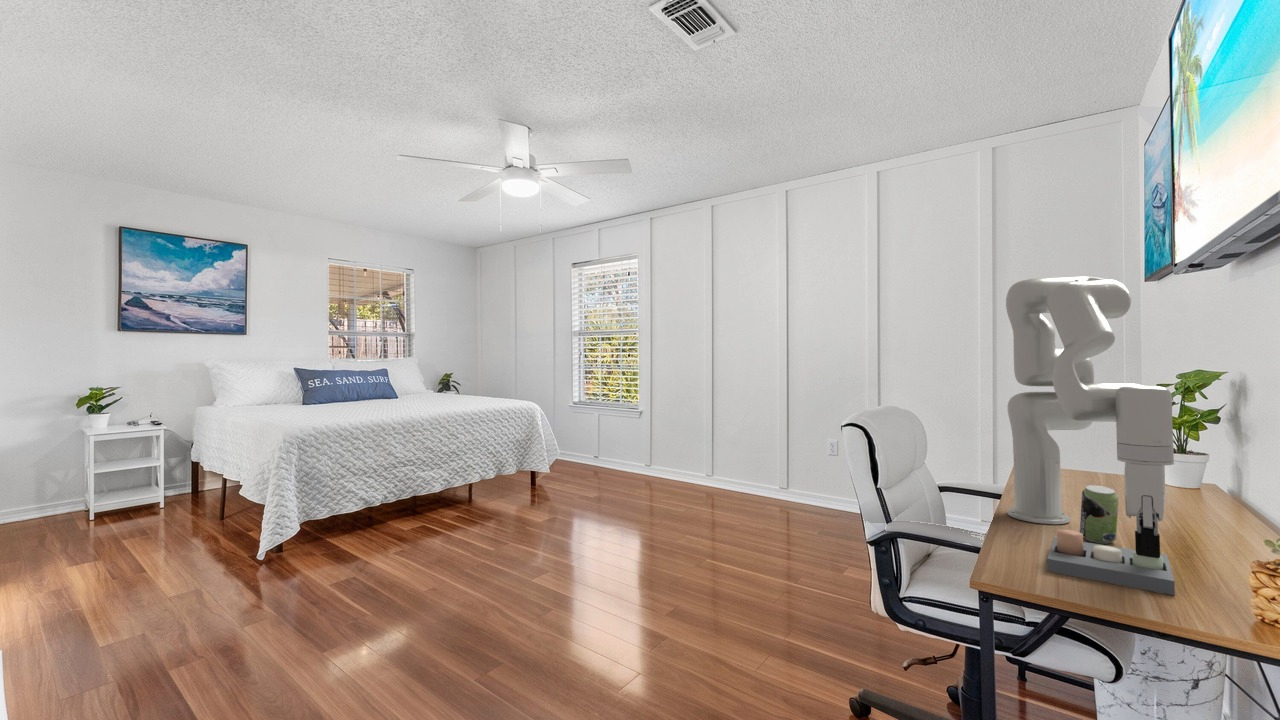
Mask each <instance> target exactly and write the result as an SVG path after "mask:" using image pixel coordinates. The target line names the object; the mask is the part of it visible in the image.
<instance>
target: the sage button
mask: <svg viewBox="0 0 1280 720" xmlns="http://www.w3.org/2000/svg"><path fill="white" fill-rule="evenodd" d="M1132 554H1133V566H1139V567H1145V568H1151V569H1157V570H1163V557H1161V556H1160V558H1153V557H1147V556H1140V555H1137V554H1136V552H1133V553H1132Z"/></svg>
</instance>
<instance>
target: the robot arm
mask: <svg viewBox="0 0 1280 720" xmlns="http://www.w3.org/2000/svg"><path fill="white" fill-rule="evenodd" d="M1006 294H1007V295H1006V298H1005V307H1006V308H1005V309H1006V312H1007V313H1006V314H1007V317H1008V320H1009V322H1010V326H1011V328H1012V335H1013V371H1014V378H1015V380H1016V381H1017V383H1018V384H1020V385H1022V386H1027V387H1053V388H1054V391H1024V392H1020V393H1017V394H1014V395H1013V396H1011V397H1010V398H1009V400H1008V402H1007V416H1008V420H1009V423H1010V428H1011V435H1012V451H1013V452H1012V455H1013V484H1014V485H1013V491H1014V506H1013V507H1008V509H1007V515H1008V516H1009V517H1011V518H1014V519H1016V520H1019V521H1024V522H1030V523H1035V524H1042V525H1044V524H1045V525H1064V524H1068V523H1069V522H1071V520H1070V519H1071V517H1070V515H1069V514H1067V513H1064V512H1062V511H1063V510H1062V481H1061V478H1062V477H1061V476H1062V475H1061V474H1062V473H1061V450H1060V446H1059V445H1058V443H1057V441H1055V439H1054V438H1053V437H1052V436H1051V435H1050V434H1049V431H1080V430H1085V429H1087V428H1089V427H1091V425H1092V423H1093V422H1094V423H1095V422H1096V423H1097V422H1098V423H1099V422H1101V423H1102V422H1105V423H1106V422H1109V423H1110V422H1112V423H1115V428H1116V457H1117V458H1116V460H1117V461H1119V462H1122V463H1124V474H1123V475H1124V476H1123V478H1124V480H1123V481H1124V505H1125V507H1124V508H1125V516H1126V517H1127V518H1129V519H1131V518H1132V517H1135V518H1136V519H1135V520H1136V530H1134V541H1135V544H1134V545H1135V550H1136V554H1137V555H1140V556H1147V557H1153V558H1160V554H1161V542H1160V541H1161V540H1160V539H1161V538H1160V533H1159V524H1158V523H1159V522H1162V521H1164V516H1165V502H1166V474H1165V473H1166V472H1165V471H1166V470H1165V466H1172V465H1174V464H1175V461H1174V460H1175V459H1174V455H1175V454H1174V453H1175V452H1174V435H1173V434H1174V429H1173V428H1174V427H1173V426H1174V425H1173V424H1174V423H1173V401H1172V400H1173V398H1172V392H1171V391H1170V390H1169V388H1167V387H1164V386H1159V385H1143V384H1139V383H1126V382H1125V383H1123V382H1122V383H1120V382H1119V383H1112V382H1111V383H1110V382H1109V383H1108V382H1105V383H1104V382H1103V383H1102V382H1101V383H1099V382H1098V383H1095V370H1094V364H1093V362H1092V359H1091V358H1093V357H1095V356H1097V355H1099V354H1102V353H1104V352H1105V351H1108V349H1110V348H1111V347H1112V346H1113V344H1114V343H1115V341H1116V336H1115V333H1114V331H1113V329H1112V328H1111V325H1110V324H1109V323H1110V322H1108V320H1110V319H1119V318H1121V317H1124V316H1125V315H1126V314H1127V313H1128V312H1129V310H1130V309H1131V303H1132V297H1131V294H1130V292H1129V290H1128V288H1127V287H1126V286H1125V285H1124V283H1122V282H1120V281H1117V280H1115V279H1109V278H1101V277H1096V276H1095V277H1094V276H1065V277H1038V278H1029V279H1023V280H1020V281H1017V282H1015V283H1013V284H1012V285H1011V286H1010V288H1009V289H1008V291H1007V293H1006ZM1043 314H1050V316H1051V318H1052V321H1053V324H1054V325H1055V328H1054V326H1053V325H1052V324H1051V322H1050V321H1049V320H1048V319H1047V318H1046V317H1045V316H1044V315H1043ZM1055 329H1056V330H1057V333H1058V335H1059V338H1060V340H1061V342H1062V345H1063V348H1062V347H1061V348H1057V347H1056V331H1055Z"/></svg>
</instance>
